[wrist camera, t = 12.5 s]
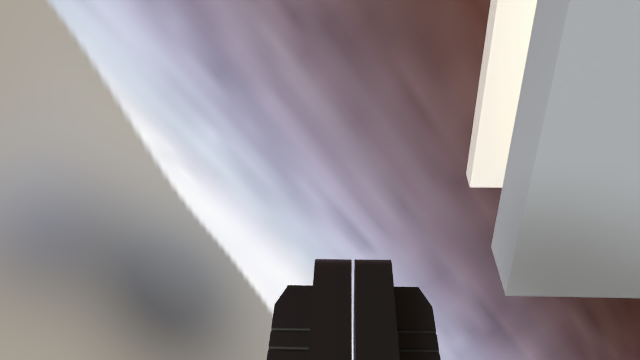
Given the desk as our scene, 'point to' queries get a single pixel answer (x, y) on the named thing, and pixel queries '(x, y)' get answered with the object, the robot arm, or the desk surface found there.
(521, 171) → the slab
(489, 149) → the roller bed
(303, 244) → the desk surface
